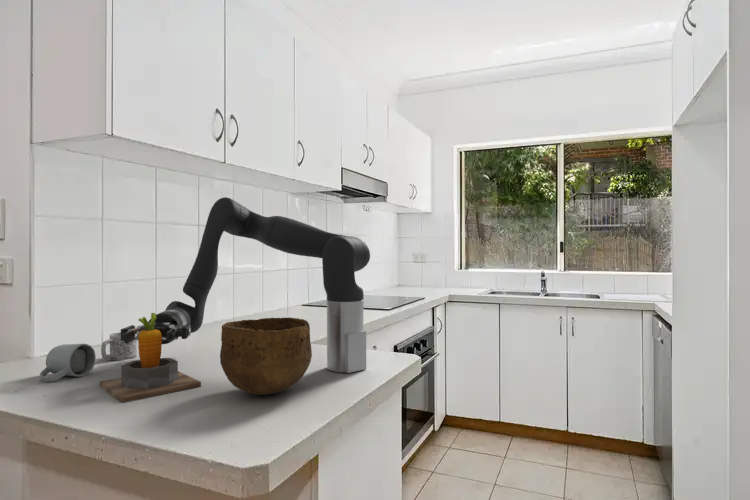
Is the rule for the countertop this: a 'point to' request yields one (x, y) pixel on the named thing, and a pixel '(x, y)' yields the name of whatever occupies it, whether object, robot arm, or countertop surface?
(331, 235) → the robot arm
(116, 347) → the mug
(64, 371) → the ceramic mug
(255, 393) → the bowl
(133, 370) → the ring holder
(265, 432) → the countertop surface
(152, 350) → the carrot
